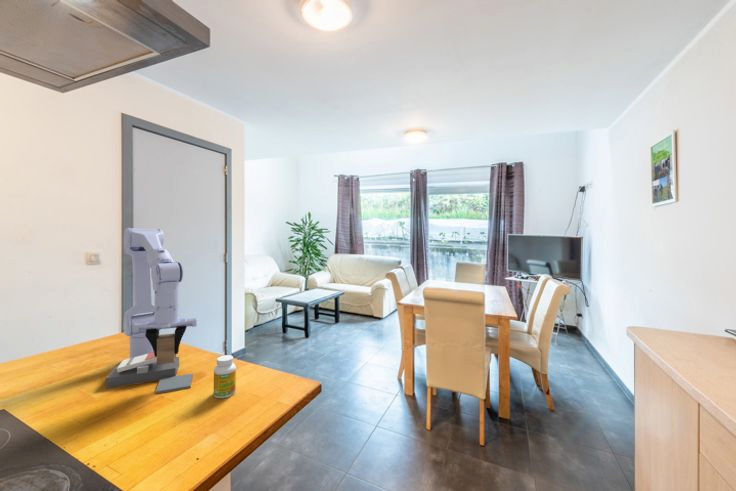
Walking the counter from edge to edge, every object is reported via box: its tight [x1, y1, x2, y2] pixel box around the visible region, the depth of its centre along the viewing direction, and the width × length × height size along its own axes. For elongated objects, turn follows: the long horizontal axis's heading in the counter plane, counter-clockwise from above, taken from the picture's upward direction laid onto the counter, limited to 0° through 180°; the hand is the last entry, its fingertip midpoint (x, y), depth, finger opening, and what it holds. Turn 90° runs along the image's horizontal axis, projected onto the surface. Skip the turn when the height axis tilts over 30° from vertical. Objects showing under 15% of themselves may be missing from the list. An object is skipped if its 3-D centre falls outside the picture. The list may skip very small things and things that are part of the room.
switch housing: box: [105, 356, 180, 389], centre depth 89 cm, size 9×16×4 cm, turn 116°
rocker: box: [117, 352, 157, 372], centre depth 89 cm, size 6×12×1 cm, turn 116°
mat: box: [155, 373, 194, 394], centre depth 85 cm, size 8×8×1 cm
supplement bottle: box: [213, 354, 237, 399], centre depth 80 cm, size 5×5×10 cm
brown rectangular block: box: [157, 332, 177, 365], centre depth 84 cm, size 4×4×7 cm
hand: (166, 354), depth 84 cm, fingers closed on brown rectangular block, 4 cm apart
